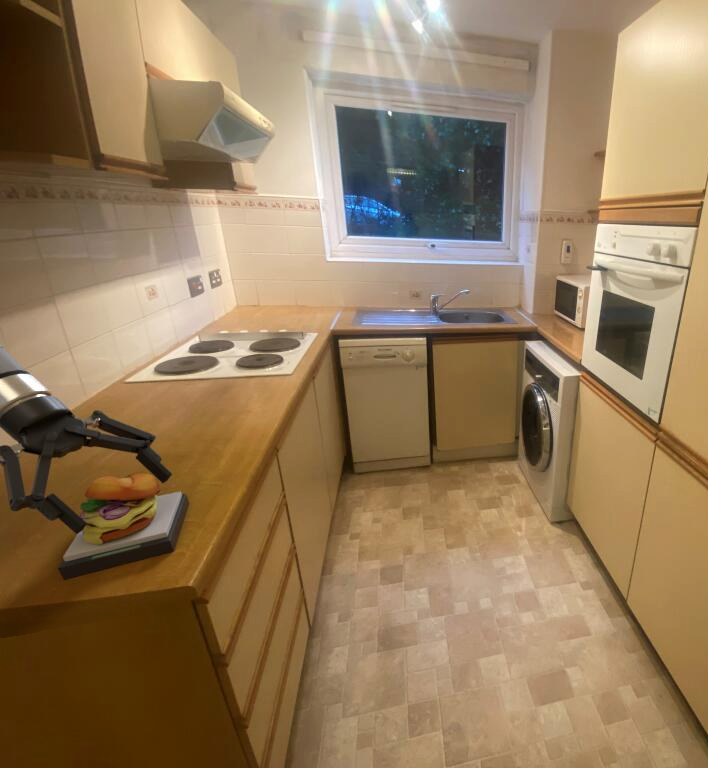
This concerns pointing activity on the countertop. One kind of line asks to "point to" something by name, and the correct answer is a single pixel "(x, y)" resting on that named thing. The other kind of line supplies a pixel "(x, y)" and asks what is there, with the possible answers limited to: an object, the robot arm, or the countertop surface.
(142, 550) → the kitchen scale
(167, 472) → the robot arm
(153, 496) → the cheeseburger
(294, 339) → the countertop surface
